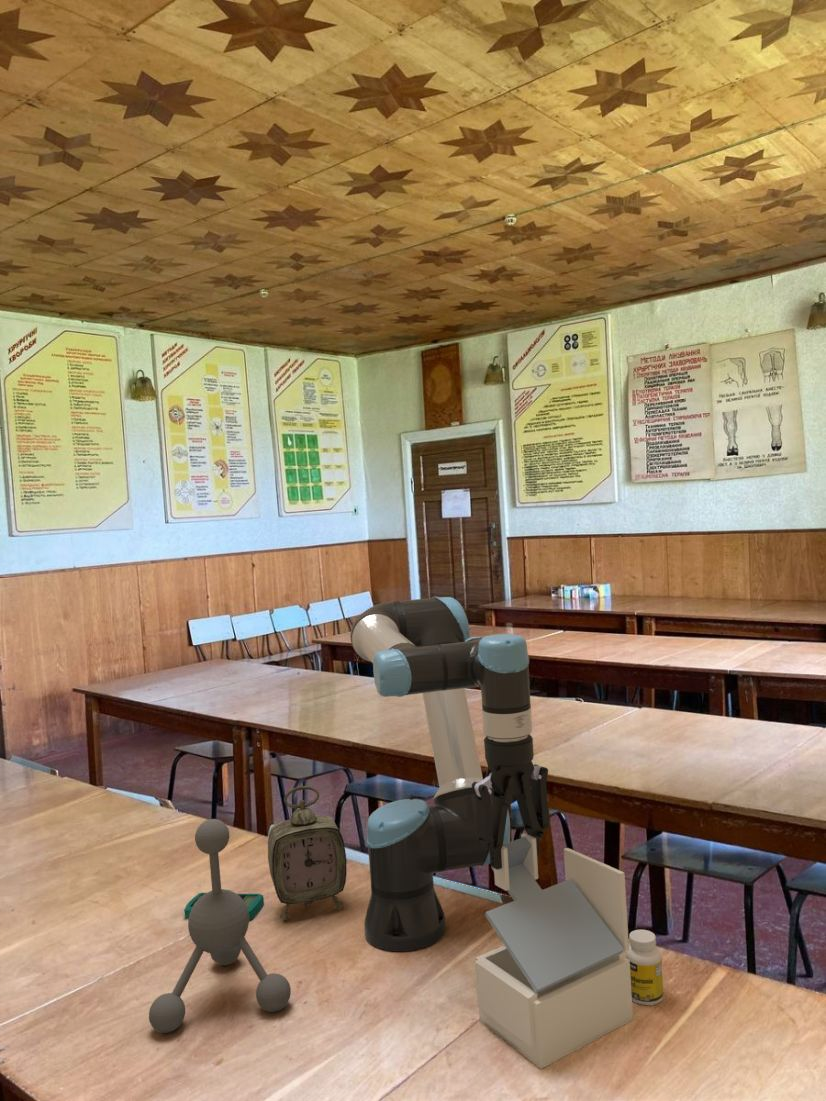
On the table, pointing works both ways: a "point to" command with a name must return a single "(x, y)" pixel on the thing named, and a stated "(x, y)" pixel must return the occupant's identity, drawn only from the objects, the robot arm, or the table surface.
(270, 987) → the molecular model
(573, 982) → the carton
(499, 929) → the flap
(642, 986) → the supplement bottle
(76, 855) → the table surface
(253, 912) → the digital multimeter
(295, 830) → the tabletop clock
